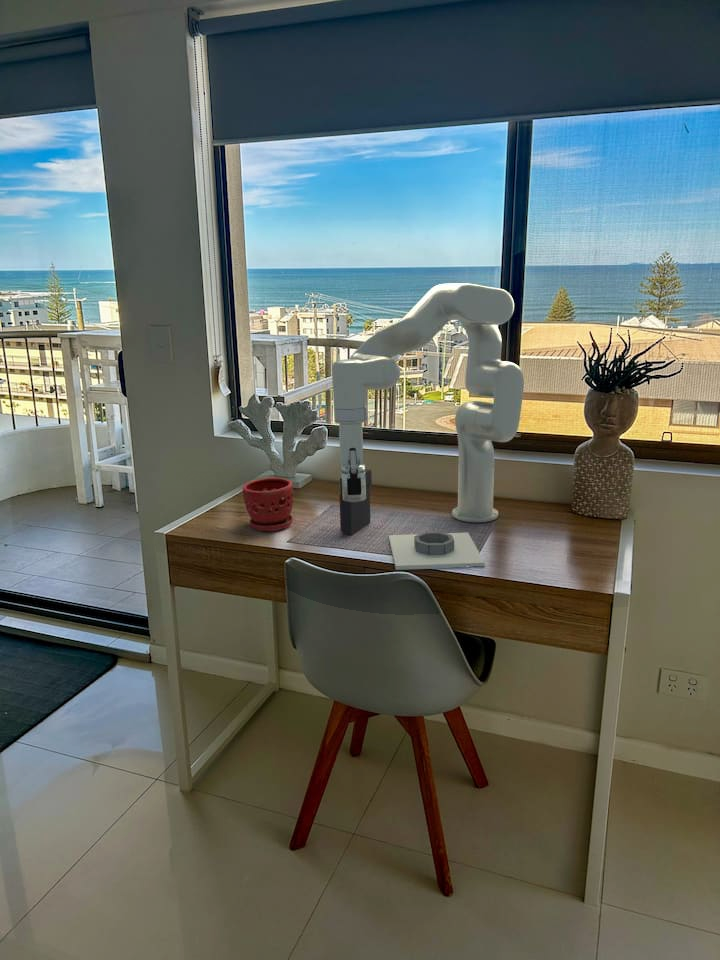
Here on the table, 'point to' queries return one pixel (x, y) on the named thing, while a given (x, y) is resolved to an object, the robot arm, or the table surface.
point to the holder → (434, 551)
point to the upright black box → (355, 509)
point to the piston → (344, 485)
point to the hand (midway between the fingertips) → (354, 490)
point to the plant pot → (269, 503)
